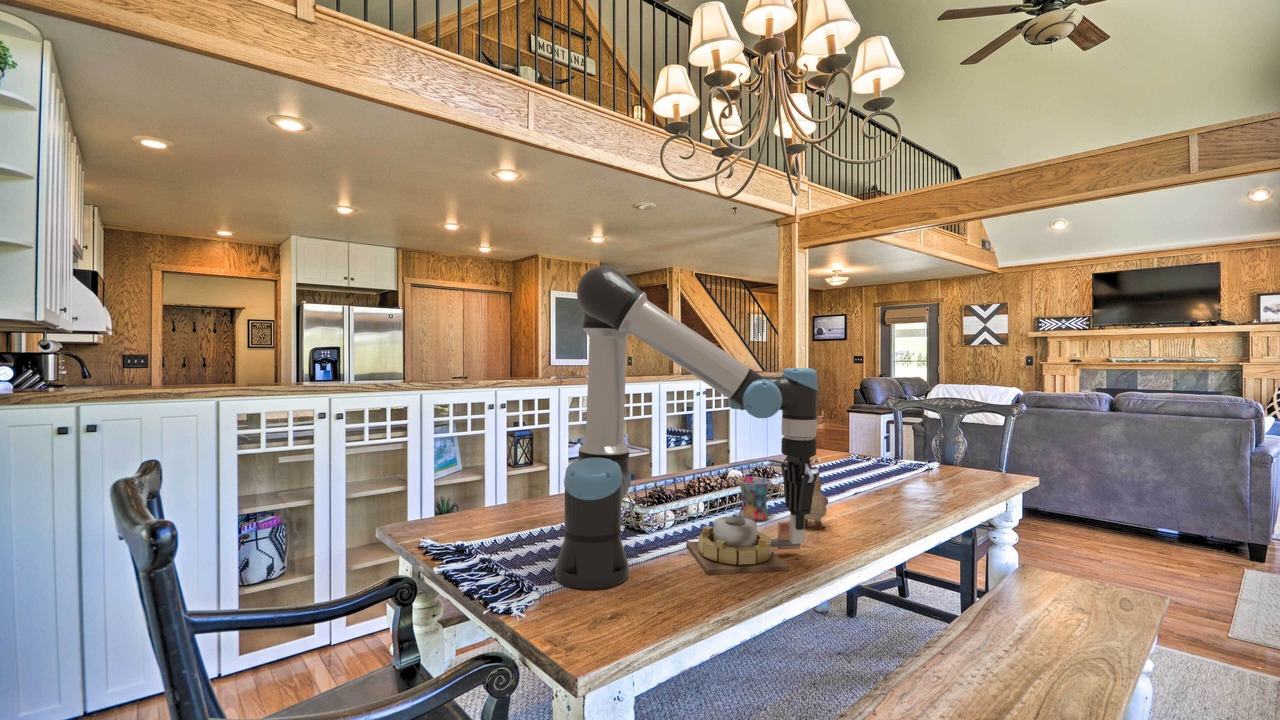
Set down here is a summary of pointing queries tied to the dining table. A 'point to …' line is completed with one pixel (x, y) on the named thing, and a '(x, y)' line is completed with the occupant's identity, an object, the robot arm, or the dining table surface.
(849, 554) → the dining table surface
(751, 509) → the mug
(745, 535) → the housing
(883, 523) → the dining table surface
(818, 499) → the figurine
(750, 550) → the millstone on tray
